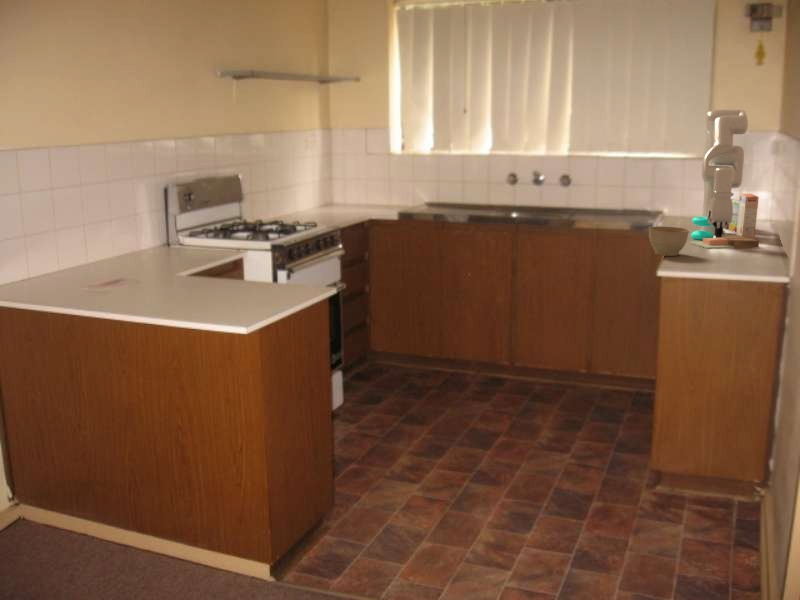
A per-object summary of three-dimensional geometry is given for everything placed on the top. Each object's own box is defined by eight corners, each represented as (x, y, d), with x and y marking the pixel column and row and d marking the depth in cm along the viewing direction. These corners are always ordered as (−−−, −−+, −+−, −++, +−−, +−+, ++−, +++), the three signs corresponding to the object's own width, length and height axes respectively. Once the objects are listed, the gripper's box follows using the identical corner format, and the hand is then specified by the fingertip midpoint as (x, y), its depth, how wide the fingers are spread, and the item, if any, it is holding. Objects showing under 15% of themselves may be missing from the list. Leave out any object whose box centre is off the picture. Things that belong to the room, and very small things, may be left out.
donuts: (719, 218, 391) (701, 219, 388) (717, 240, 393) (699, 241, 390) (705, 216, 400) (687, 216, 397) (704, 236, 402) (686, 237, 399)
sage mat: (689, 243, 384) (689, 241, 383) (715, 242, 385) (716, 241, 385) (707, 248, 368) (707, 247, 368) (734, 247, 370) (734, 246, 370)
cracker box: (755, 242, 387) (759, 196, 382) (741, 241, 388) (745, 196, 383) (749, 237, 400) (753, 193, 395) (735, 237, 401) (739, 193, 397)
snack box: (720, 227, 433) (722, 198, 429) (730, 227, 433) (733, 198, 430) (739, 233, 412) (742, 203, 409) (750, 233, 412) (753, 203, 409)
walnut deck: (715, 242, 386) (715, 235, 385) (737, 241, 388) (738, 235, 387) (735, 248, 370) (735, 241, 369) (758, 247, 371) (758, 240, 371)
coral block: (702, 243, 380) (703, 238, 379) (721, 242, 381) (721, 237, 380) (709, 245, 374) (709, 240, 373) (728, 244, 375) (728, 239, 375)
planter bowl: (676, 259, 343) (678, 232, 340) (640, 254, 354) (641, 229, 351) (693, 254, 354) (695, 228, 352) (657, 250, 365) (659, 225, 363)
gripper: (732, 194, 377) (729, 235, 381) (701, 195, 375) (698, 235, 379) (742, 196, 370) (738, 237, 374) (710, 196, 368) (707, 238, 372)
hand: (718, 236), depth 376 cm, fingers closed
